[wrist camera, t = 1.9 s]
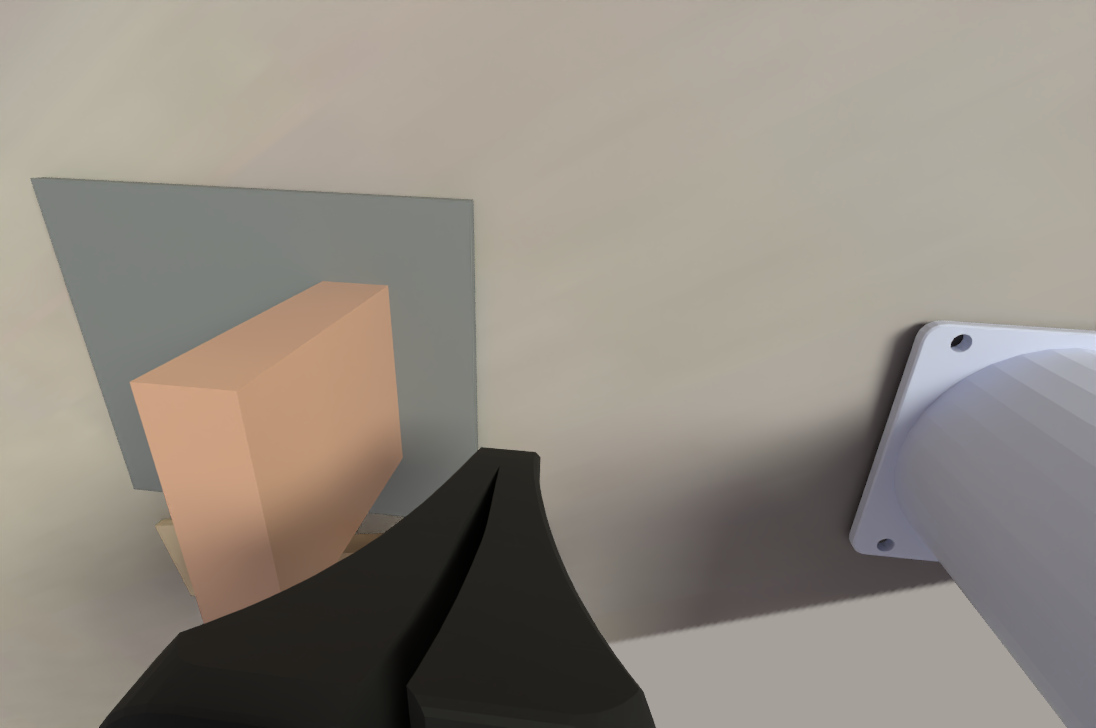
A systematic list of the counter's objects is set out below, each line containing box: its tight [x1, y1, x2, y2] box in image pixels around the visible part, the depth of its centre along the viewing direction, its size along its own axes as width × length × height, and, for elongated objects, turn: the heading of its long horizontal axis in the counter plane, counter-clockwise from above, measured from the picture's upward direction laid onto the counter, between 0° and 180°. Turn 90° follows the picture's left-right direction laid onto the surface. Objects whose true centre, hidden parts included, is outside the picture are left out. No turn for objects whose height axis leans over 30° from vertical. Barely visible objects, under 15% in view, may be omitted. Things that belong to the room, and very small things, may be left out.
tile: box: [130, 281, 403, 624], centre depth 14 cm, size 2×6×7 cm, turn 178°
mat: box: [30, 177, 478, 517], centre depth 17 cm, size 13×11×1 cm
